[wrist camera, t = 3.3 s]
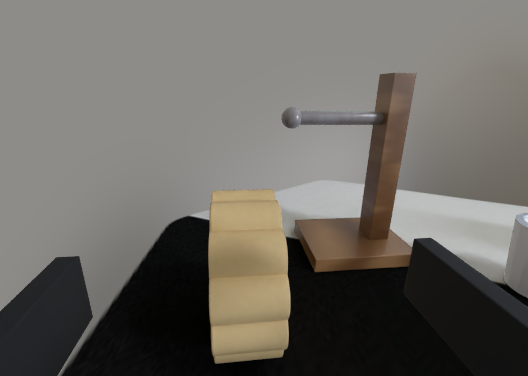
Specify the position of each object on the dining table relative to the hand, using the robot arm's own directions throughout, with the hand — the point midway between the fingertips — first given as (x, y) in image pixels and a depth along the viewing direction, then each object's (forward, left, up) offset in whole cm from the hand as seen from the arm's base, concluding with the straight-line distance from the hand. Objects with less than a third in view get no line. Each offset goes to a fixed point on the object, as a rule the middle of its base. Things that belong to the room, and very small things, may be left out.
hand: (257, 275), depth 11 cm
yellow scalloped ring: (0, +9, -12) cm, 15 cm away
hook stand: (+12, +21, -12) cm, 27 cm away
